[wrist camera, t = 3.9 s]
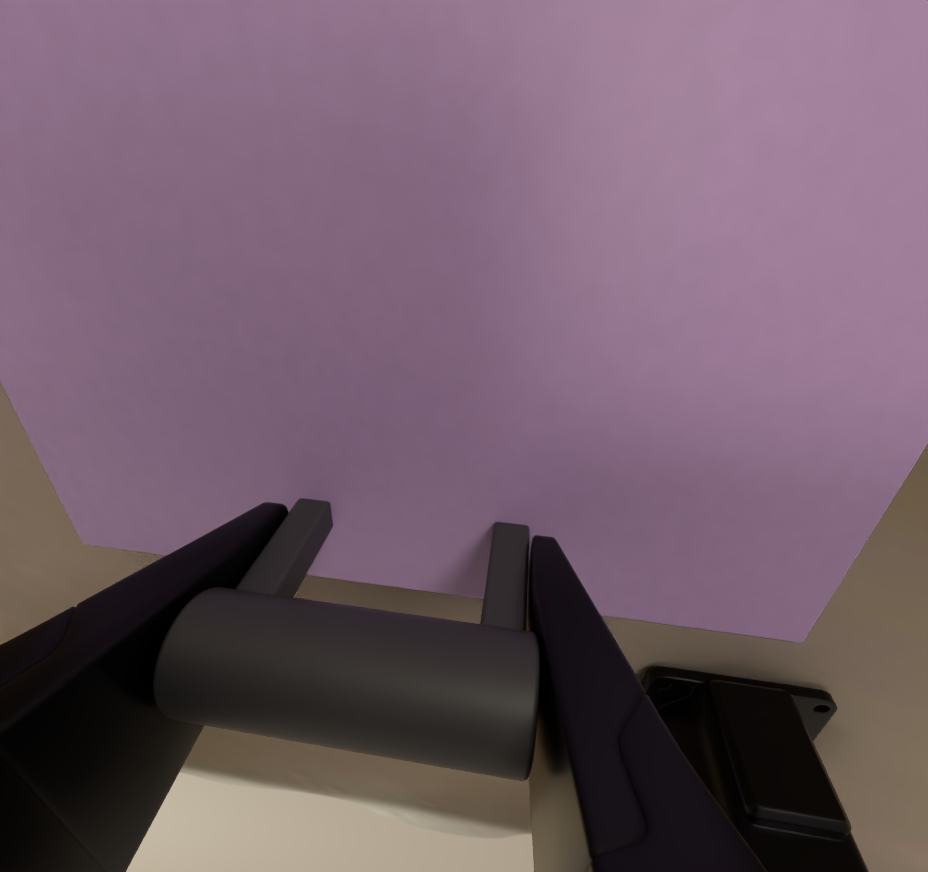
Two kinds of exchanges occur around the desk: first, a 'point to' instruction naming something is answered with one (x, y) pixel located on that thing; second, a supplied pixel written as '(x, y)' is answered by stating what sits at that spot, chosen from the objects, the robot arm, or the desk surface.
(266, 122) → the door panel with handle
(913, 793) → the desk surface
